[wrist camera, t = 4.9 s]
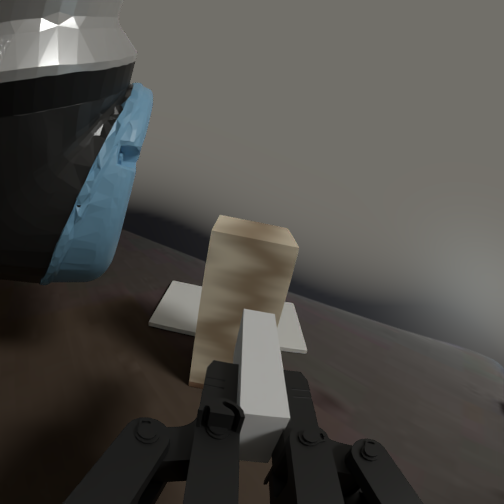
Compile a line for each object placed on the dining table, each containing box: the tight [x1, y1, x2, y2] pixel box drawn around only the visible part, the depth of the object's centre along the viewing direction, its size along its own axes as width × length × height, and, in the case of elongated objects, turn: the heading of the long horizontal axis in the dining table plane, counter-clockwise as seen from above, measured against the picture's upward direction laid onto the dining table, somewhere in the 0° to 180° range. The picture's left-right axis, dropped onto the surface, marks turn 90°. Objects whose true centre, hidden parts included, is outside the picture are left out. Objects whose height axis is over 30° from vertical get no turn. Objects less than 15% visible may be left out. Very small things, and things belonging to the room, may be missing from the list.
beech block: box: [189, 215, 299, 389], centre depth 25 cm, size 6×6×14 cm
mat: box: [149, 281, 307, 354], centre depth 37 cm, size 18×12×1 cm, turn 91°
